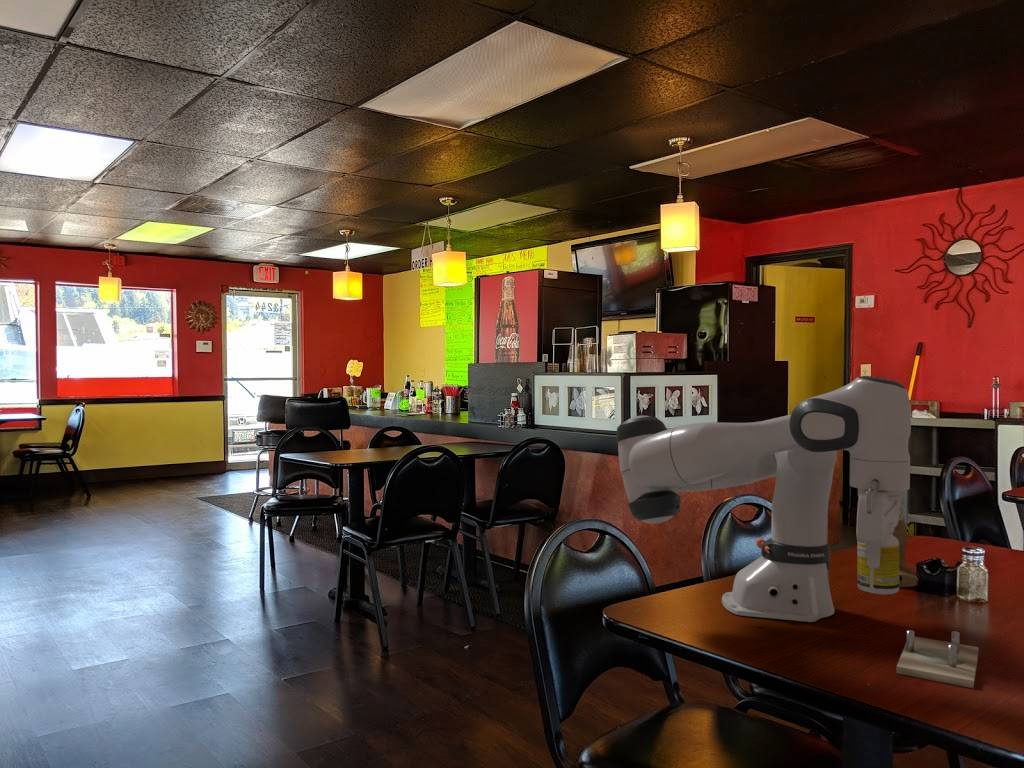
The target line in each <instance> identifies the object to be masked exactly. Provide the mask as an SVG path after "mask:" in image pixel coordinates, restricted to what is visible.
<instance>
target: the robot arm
mask: <svg viewBox="0 0 1024 768" xmlns="http://www.w3.org/2000/svg"><path fill="white" fill-rule="evenodd" d="M910 403H911V402H910V397H909V391H908V389H907V388H906V387H905V386H904V385H903V384H902V383H900V382H899V381H897V380H893V379H889V378H884V377H878V376H870V375H861V376H857V377H855V379H853V380H852V381H850V382H849V383H847V384H846V385H844V386H841V387H839V388H836V389H834V390H832V391H829V392H826V393H823V394H819V395H815V396H812V397H808V398H806V399H805V400H803V401H801V402H799V403H798V404H797V405H796V406H795V408H794V409H793V410H792V411H791V414H788V415H784V416H779V417H773V418H771V419H765V420H762V421H761V420H760V421H755V422H718V421H717V422H714V421H713V422H697V423H696V422H695V423H689V424H684V425H680V426H679V425H678V426H675V427H672V428H668V429H667V427H666V425H665V423H664V422H663V421H662V420H660V419H659V418H657V416H651V415H649V416H648V415H636V416H633V417H630V418H629V419H627V420H625V421H623V422H621V423H620V424H619V425H618V426H617V428H616V434H615V435H616V437H615V438H616V439H615V440H616V442H615V443H616V444H617V445H618V447H617V451H618V463H619V470H620V474H621V477H622V481H623V486H624V489H625V494H626V497H627V500H628V504H627V505H628V508H629V512H630V514H631V515H632V517H633V519H635V520H637V521H638V522H643V523H647V524H651V525H652V524H654V525H655V524H661V523H664V522H667V521H669V520H670V519H672V518H673V517H676V516H677V515H678V513H679V512H680V509H681V495H679V493H682V492H683V493H689V492H691V493H693V492H694V493H695V492H704V491H711V490H719V489H726V488H731V487H739V486H744V485H751V484H752V483H756V482H759V481H763V480H766V479H770V478H774V477H775V485H774V492H773V495H772V496H773V497H772V500H771V533H770V534H771V535H770V538H768V539H767V540H765V539H764V538H762V537H758V538H757V539H756V540H755V546H757V548H758V549H760V552H761V556H760V557H758V558H757V559H755V560H753V562H751V563H750V564H748V565H747V566H745V567H743V568H742V569H740V570H739V571H737V573H736V574H735V577H734V580H733V585H732V591H729V592H724V593H723V594H722V597H721V604H722V606H723V608H725V609H726V610H727V611H729V612H730V613H732V614H734V615H737V616H743V617H753V618H754V617H755V618H766V619H775V620H787V621H794V622H806V623H807V622H808V623H813V622H817V621H819V620H820V619H822V618H827V617H830V616H832V615H834V613H836V612H835V611H836V610H835V607H834V604H833V600H832V595H831V589H830V581H829V572H828V571H829V570H830V563H831V551H830V550H831V549H830V543H829V542H828V527H829V525H828V524H829V523H828V521H829V520H828V519H829V517H828V512H829V503H830V502H829V501H830V495H831V489H832V486H833V484H832V483H833V480H834V479H833V478H834V470H835V465H836V462H837V459H838V458H837V457H838V451H843V450H844V451H847V452H849V486H850V487H851V488H855V489H857V496H858V501H857V511H856V527H855V528H856V529H855V530H856V532H855V533H856V540H857V541H858V542H860V543H866V551H867V556H868V557H867V565H868V566H869V567H872V568H879V567H880V565H881V544H882V543H883V541H884V540H885V539H886V538H887V536H888V535H889V532H890V524H891V523H892V522H893V523H894V528H895V527H896V525H897V524H898V521H899V518H900V514H901V509H902V507H901V506H902V500H903V492H905V491H908V490H910V487H911V486H910V485H911V484H910V483H911V482H910V481H911V456H910V452H909V447H908V446H909V439H910V437H911V434H912V433H911V431H912V430H911V429H912V426H911V425H912V422H911V421H912V420H911V418H912V416H911V414H912V413H911V404H910Z"/></svg>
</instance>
